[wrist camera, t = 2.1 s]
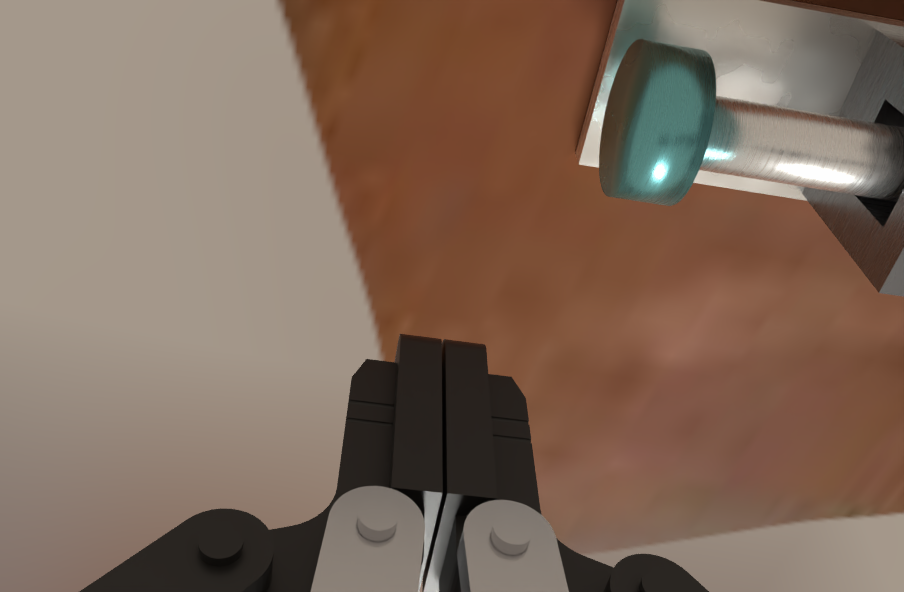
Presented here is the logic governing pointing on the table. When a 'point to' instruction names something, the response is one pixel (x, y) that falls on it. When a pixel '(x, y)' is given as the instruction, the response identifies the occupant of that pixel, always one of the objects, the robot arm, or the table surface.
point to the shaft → (729, 135)
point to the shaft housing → (783, 94)
